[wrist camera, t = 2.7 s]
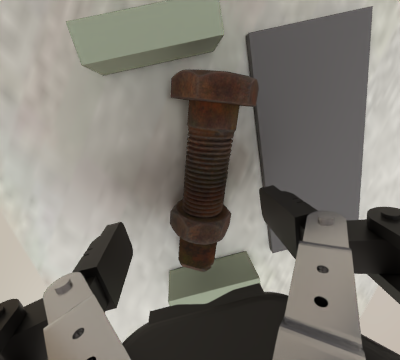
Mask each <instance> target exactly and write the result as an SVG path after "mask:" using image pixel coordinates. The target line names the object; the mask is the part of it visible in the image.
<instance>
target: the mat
mask: <svg viewBox="0 0 400 360" xmlns="http://www.w3.org/2000/svg"><path fill="white" fill-rule="evenodd" d="M372 7H373V6H371V7H367V8H362V9H357V10H353V11H348V12H343V13H339V14H334V15H330V16H325V17H320V18H316V19H311V20H307V21H302V22H297V23H293V24H288V25H284V26H279V27H274V28H270V29H265V30H260V31H256V32H251V33H248V34H247V36H246V40H247V49H248V58H249V67H250V75H251V77H252V78H255V79H257V81H258V85H259V91H258V97H257V102H256V106H255V107H254V111H255V119H256V128H257V137H258V146H259V155H260V163H261V172H262V181H263V187H267V186H271V185H274V186H275V187H277V188H278V189H279V190H281V191H287V192H290V193H293V194H295V195H296V196H297V197H299V198H300V199H302V200H303V201H304V202H306V203H308V204H309V205H310V206H312V207H313V208H315V209H316V210H318V211H332V212H336V213H338V214H340V215H342V216H343V217H345V219H346V220H358V218H359V203H360V188H361V173H362V158H363V143H364V128H365V113H366V98H367V83H368V68H369V53H370V38H371V22H372ZM268 234H269V243H270V250H271V251H272V253H275V252H279V251H283V250H287V248H286V247H285V246H284V245H283V243H282V242H281V241H280V240H279V238H278V237H277V236H276V235H275V233H274V232H273V231H272V230H271V229H270V227H269V226H268Z"/></svg>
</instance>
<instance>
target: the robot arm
mask: <svg viewBox="0 0 400 360" xmlns="http://www.w3.org/2000/svg"><path fill="white" fill-rule="evenodd" d="M259 193H260V201H261V209H262V215H263V218H264V220H265V222H266V224H267V225H268V226H269V227H270V229H271V230H272V231H273V232H274V233H275V235H276V236H277V237H278V238H279V240H280V241H281V242H282V243H283V245H284V246H285V247H286V248H287V249H288V251H289V252H290V253H291V254H292V256H293V257H294V258H295V259H296V261H295V266H294V271H293V276H292V281H291V286H290V291H289V296H287V295H284V294H280V293H275V292H264V291H263V289H262V287H261V285H260V283H257V284H253V285H249V286H246V287H242V288H238V289H234V290H232V291H230V292H228V293H226V294H224V295H222V296H220V297H218V298H216V299H215V300H213V301H211V302H209V303H206V304H177V305H173V306H169V307H165V308H162V309H158V310H154V311H150V316H149V322H148V323H147V324H145V325H143V326H142V327H140V328H139V329H137V330H136V331H135V332H134V333H132V334H131V335H130V336H129V337H128V338H127V339H126V340H125V341H124V342H123V343H121V341H120V339H119V338H118V336H117V334H116V332H115V331H114V329H113V327H112V325H111V324H110V322H109V320H108V318H107V317H106V315H105V311H107V310H111V309H115V308H117V305H118V301H119V298H120V295H121V292H122V288H123V285H124V282H125V279H126V275H127V272H128V269H129V266H130V262H131V259H132V256H133V249H132V245H131V242H130V239H129V237H128V234H127V232H126V229H125V227H124V225H123V223H122V222H119V223H115V224H111V225H107V226H106V228H105V229H104V231H103V233H102V234H101V236H99V237H98V238H96V239H95V240H94V241H93V242H92V243H91V244H90V246H89V247H88V249H87V251H86V252H85V254H84V256H83V257H82V258H81V260H80V261H79V263H78V264H77V266H76V267H75V269H74V270H73V272H72V273H69V274H67V275H65V276H63V277H61V278H59V279H58V280H56V281H55V282H54V283H52V284H51V285H50V286H49V287H48V288H47V289H46V291H45V292H44V295H43V298H42V299H40V300H38V301H36V302H34V303H31V304H29V305H27V306H25V307H23V306H22V304H21V303H20V301H19V300H18V299H11V300H7V301H5V302H2V303H0V360H400V355H399V354H397V353H395V352H393V351H391V350H390V349H388V348H386V347H384V346H382V345H380V344H379V343H377V342H375V341H373V340H371V339H369V338H367V337H366V336H364V335H362V334H361V331H360V322H359V313H358V304H357V295H356V286H355V277H354V273H355V274H368V275H369V276H370V277H371V278H372V279H373V280H374V281H375V282H376V283H377V284H378V285H379V286H381V287H382V288H383V289H384V290H385V291H386V292H387V293H388V294H389V295H390V296H391V297H393V298H394V299H395V300H396V301H397V302H398V303H399V304H400V209H398V208H392V207H376V208H372V209H370V210H369V211H368V212H367V220H346V219H345V217H343V216H342V215H340V214H338V213H336V212H332V211H318V210H316V209H315V208H313V207H312V206H310V205H309V204H308V203H306V202H304V201H303V200H302V199H300V198H299V197H297V196H296V195H295V194H293V193H290V192H287V191H281V190H279V189H278V188H277V187H275V186H274V185H271V186H267V187H263V188H260V190H259Z"/></svg>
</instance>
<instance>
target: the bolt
mask: <svg viewBox="0 0 400 360" xmlns="http://www.w3.org/2000/svg"><path fill="white" fill-rule="evenodd" d="M258 91H259V85H258V81H257V79H255V78H252V77H249V76H245V75H241V74H236V73H231V72H224V71H210V70H182V71H180V72H178V73H177V74H176V75H175V76H173V77H172V79H171V98H178V99H185V100H189V110H188V123H187V125H188V130H189V132H188V135H189V136H190V137H188V140H189V142H187V145H189V146H188V147H187V149H188V150H189V151H187V156H186V159H187V160H186V166H185V167H186V169H185V172H186V173H185V176H186V177H185V178H184V179H185V182H184V184H185V185H184V194H183V196H184V197H183V200H181V201H179V202H178V203H177V204H176V205H175V206H174V208H173V209H172V211H171V216H170V224H171V226H172V228H173V230H174V231H175V232H176V234H177V235H178V236H179V237H180V243H179V245H180V246H179V257H178V258H179V261H180V263H181V265H182V266H183V267H186V268H190V269H193V270H197V271H200V272H205V271H207V270H209V269H210V268H211V265H213V264H214V259H215V251H216V245H217V242H218V241H220V240H222V239H223V237H224V236H225V234H226V232H227V229H228V227H229V223H230V218H231V213H230V211H229V210H228V209H227V208H226V207H225V206H224V205H223V201H224V200H223V199H224V194H225V187H226V179H227V174H228V172H227V170H228V165H229V163H228V162H229V157H230V155H231V154H230V152H231V149H230V148H231V147H232V144H231V143H232V142H233V140H232V139H231V138H233V136H234V132H235V130H236V125H237V119H238V113H239V106H240V105H241V106H252V107H255V106H256V102H257V97H258Z"/></svg>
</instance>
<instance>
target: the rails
mask: <svg viewBox="0 0 400 360" xmlns="http://www.w3.org/2000/svg"><path fill="white" fill-rule="evenodd" d="M66 24H67V26H68V29H69V32H70V35H71V37H72V40H73V43H74V46H75V48H76V51H77V54H78V57H79V59H80V62H81V65H82V66H84V67H87V68H89V69H91V70H93V71H95V72H97V73H99V74H101V75H108V74H112V73H117V72H121V71H126V70H130V69H135V68H140V67H144V66H149V65H153V64H158V63H162V62H167V61H172V60H176V59H181V58H185V57H190V56H194V55H199V54H204V53H208V52H213V51H214V50H215V48H216V46H217V45H218V43H219V42H220V40H221V39H222V37H223V35H224V29H223V23H222V16H221V9H220V2H219V0H167V1H162V2H158V3H153V4H148V5H143V6H138V7H134V8H129V9H124V10H119V11H114V12H110V13H105V14H100V15H95V16H90V17H86V18H81V19H76V20H71V21H66ZM257 283H260V278H259V276H258V274H257V272H256V270H255V268H254V266H253V264H252V262H251V260H250V258H249V256H248V254H247V252H242V253H238V254H234V255H230V256H226V257H222V258H218V259H214V264H213V265H211V268H210V269H209V270H207V271H205V272H200V271H197V270H193V269H190V268H186V267H183V268H179V269H175V270H171V271H170V272H169V296H168V302H169V305H170V306H173V305H177V304H206V303H209V302H211V301H213V300H215V299H216V298H218V297H220V296H222V295H224V294H226V293H228V292H230V291H232V290H234V289H238V288H242V287H246V286H249V285H253V284H257Z"/></svg>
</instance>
